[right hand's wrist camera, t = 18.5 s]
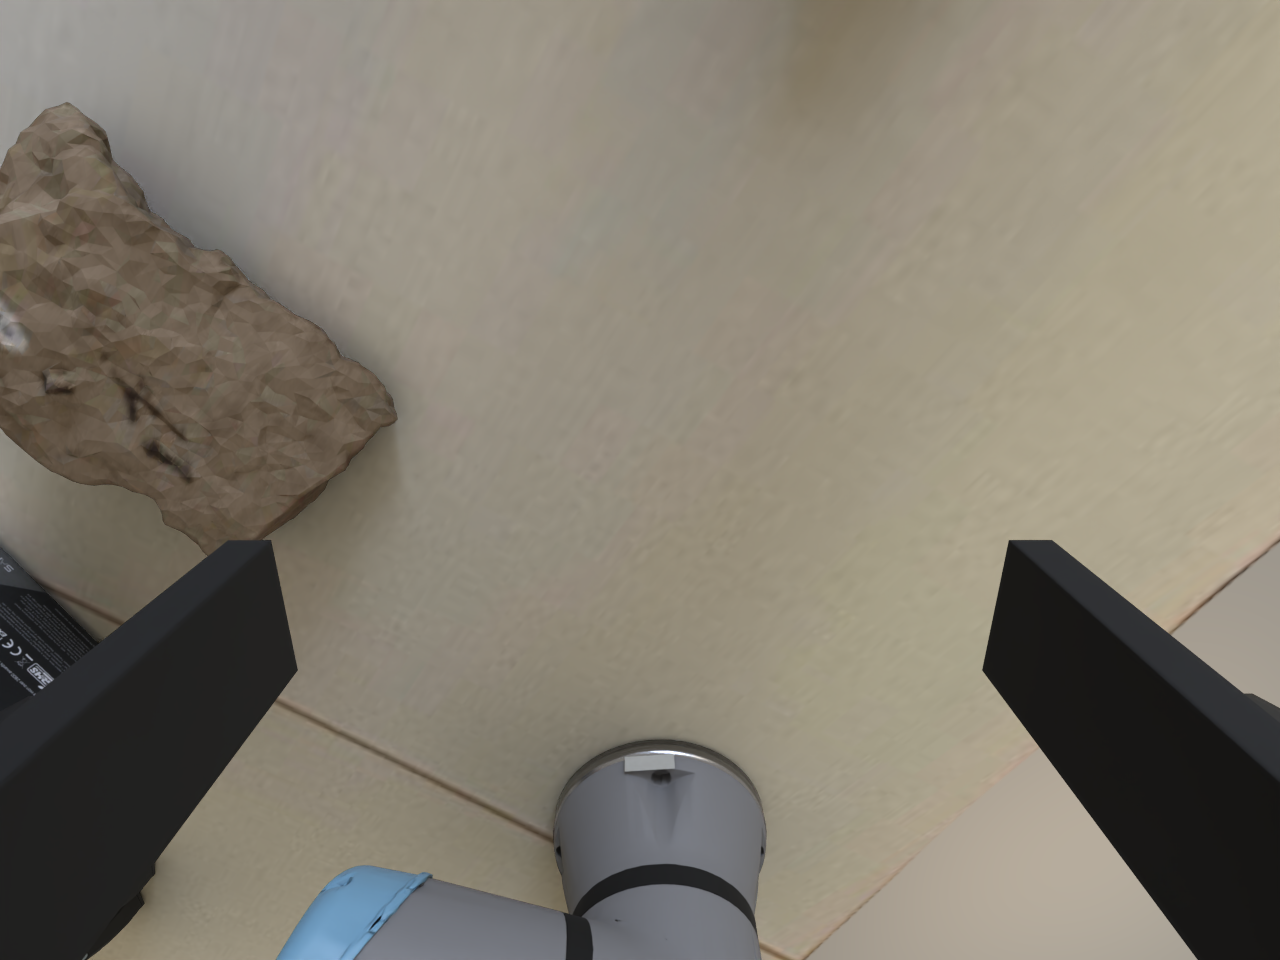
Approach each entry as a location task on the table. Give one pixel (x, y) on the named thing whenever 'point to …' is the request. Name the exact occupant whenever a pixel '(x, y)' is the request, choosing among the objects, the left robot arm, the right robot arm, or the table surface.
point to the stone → (159, 352)
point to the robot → (122, 916)
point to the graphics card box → (33, 635)
